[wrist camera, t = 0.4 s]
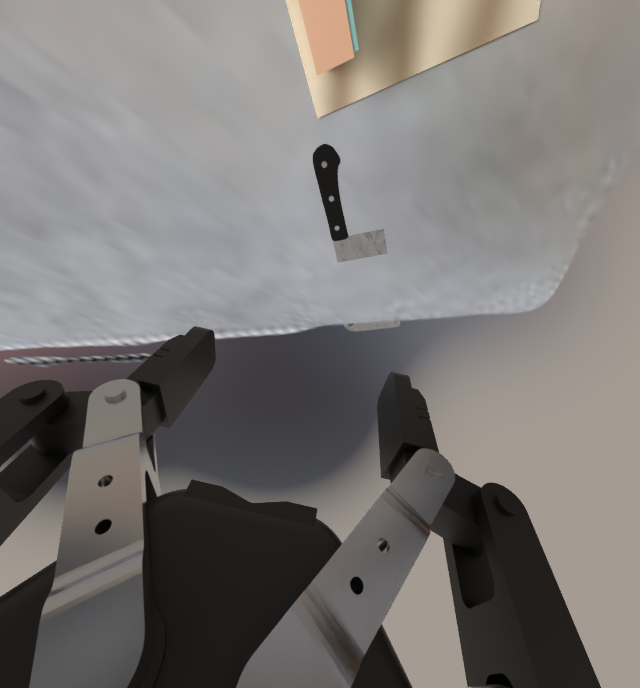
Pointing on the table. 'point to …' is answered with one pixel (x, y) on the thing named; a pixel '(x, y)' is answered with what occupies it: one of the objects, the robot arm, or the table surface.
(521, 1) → the board
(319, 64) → the tile
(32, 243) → the table surface
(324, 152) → the kitchen knife
